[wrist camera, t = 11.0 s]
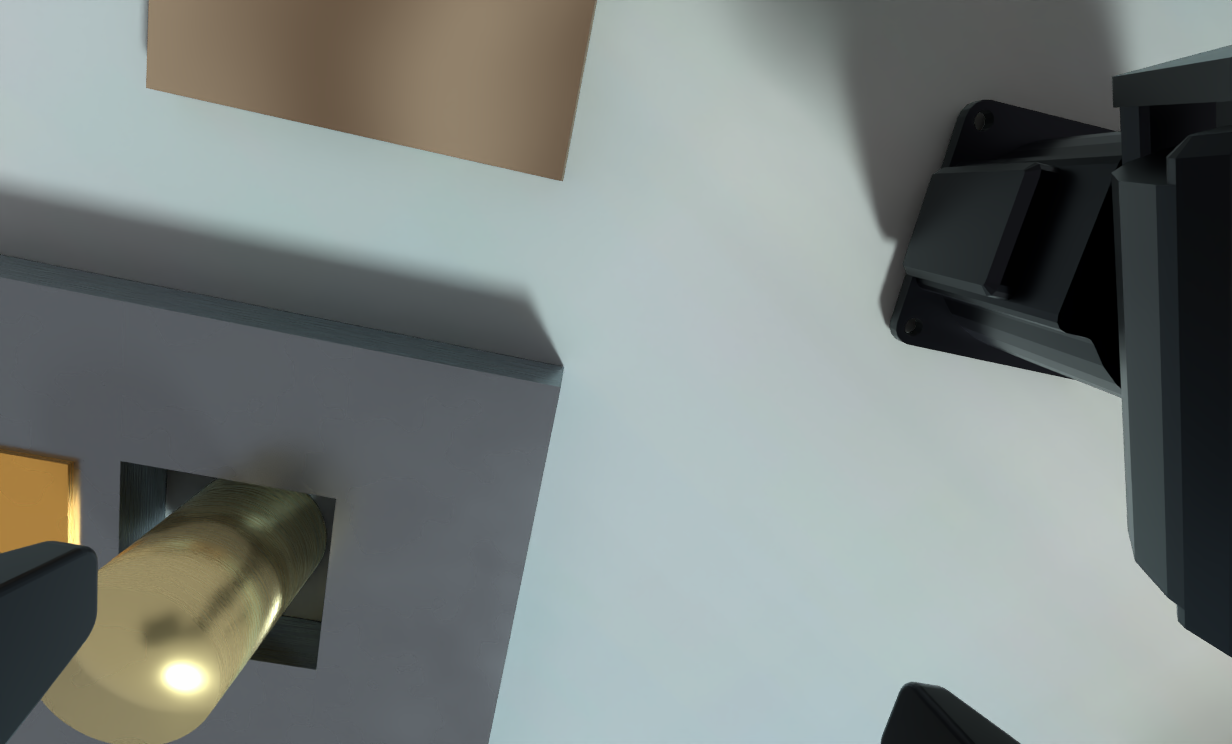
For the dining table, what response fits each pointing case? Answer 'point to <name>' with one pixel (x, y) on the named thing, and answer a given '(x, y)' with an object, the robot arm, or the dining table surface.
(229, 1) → the pad
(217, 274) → the dining table surface
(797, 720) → the dining table surface
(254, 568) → the brass peg
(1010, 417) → the dining table surface
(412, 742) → the hole plate
